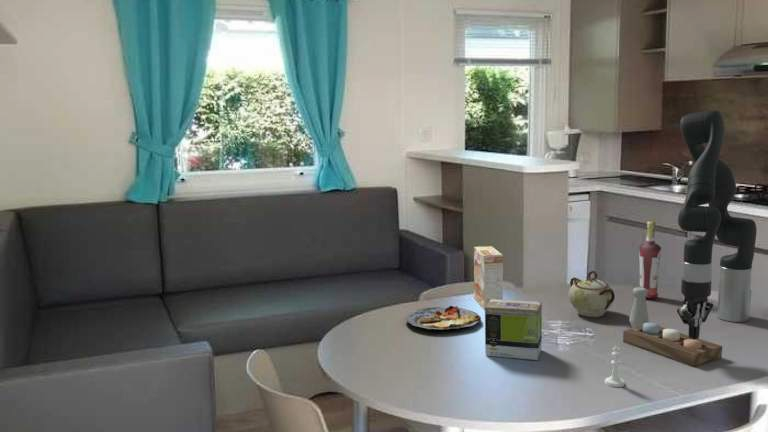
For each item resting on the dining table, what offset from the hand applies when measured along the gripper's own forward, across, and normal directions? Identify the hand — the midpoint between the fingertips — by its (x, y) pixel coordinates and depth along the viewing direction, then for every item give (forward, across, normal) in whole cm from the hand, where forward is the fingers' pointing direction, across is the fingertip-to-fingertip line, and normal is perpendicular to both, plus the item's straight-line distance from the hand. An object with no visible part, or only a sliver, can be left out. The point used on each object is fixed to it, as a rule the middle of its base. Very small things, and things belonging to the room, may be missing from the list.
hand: (693, 338), depth 195 cm
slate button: (+3, 0, -14) cm, 14 cm away
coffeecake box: (+6, +14, -73) cm, 75 cm away
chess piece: (+6, +32, +1) cm, 33 cm away
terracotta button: (+4, 0, 0) cm, 4 cm away
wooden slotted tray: (+6, 0, -7) cm, 9 cm away
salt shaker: (+6, -8, -25) cm, 27 cm away
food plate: (+6, +40, -64) cm, 76 cm away
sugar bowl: (+6, -7, -44) cm, 45 cm away
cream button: (+3, 0, -7) cm, 8 cm away
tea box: (+6, +39, -30) cm, 50 cm away
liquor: (+6, -38, -46) cm, 60 cm away
